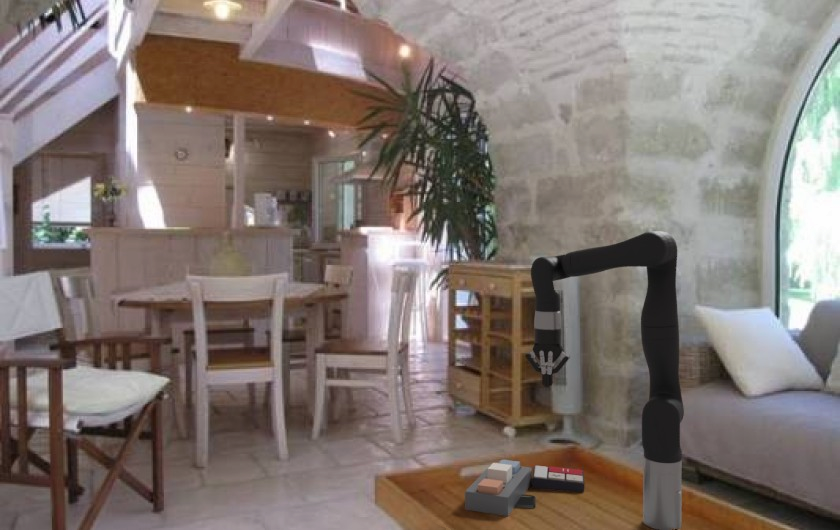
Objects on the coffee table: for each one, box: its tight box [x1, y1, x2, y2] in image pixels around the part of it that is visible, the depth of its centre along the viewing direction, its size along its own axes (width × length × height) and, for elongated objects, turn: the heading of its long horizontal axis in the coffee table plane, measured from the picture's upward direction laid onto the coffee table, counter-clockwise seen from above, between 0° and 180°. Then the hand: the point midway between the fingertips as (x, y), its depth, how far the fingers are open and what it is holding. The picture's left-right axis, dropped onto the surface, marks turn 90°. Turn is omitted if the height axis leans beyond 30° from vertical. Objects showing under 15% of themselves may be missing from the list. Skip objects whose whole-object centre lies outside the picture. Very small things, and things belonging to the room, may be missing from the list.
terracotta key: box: [478, 478, 503, 495], centre depth 194 cm, size 6×6×4 cm
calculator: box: [531, 465, 585, 493], centre depth 212 cm, size 11×4×15 cm
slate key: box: [498, 459, 521, 474], centre depth 210 cm, size 6×6×4 cm
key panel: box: [464, 462, 533, 517], centre depth 202 cm, size 12×26×5 cm, turn 157°
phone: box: [514, 494, 537, 509], centre depth 198 cm, size 8×1×15 cm
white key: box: [487, 462, 512, 484], centre depth 202 cm, size 6×6×4 cm
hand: (547, 386), depth 203 cm, fingers closed
